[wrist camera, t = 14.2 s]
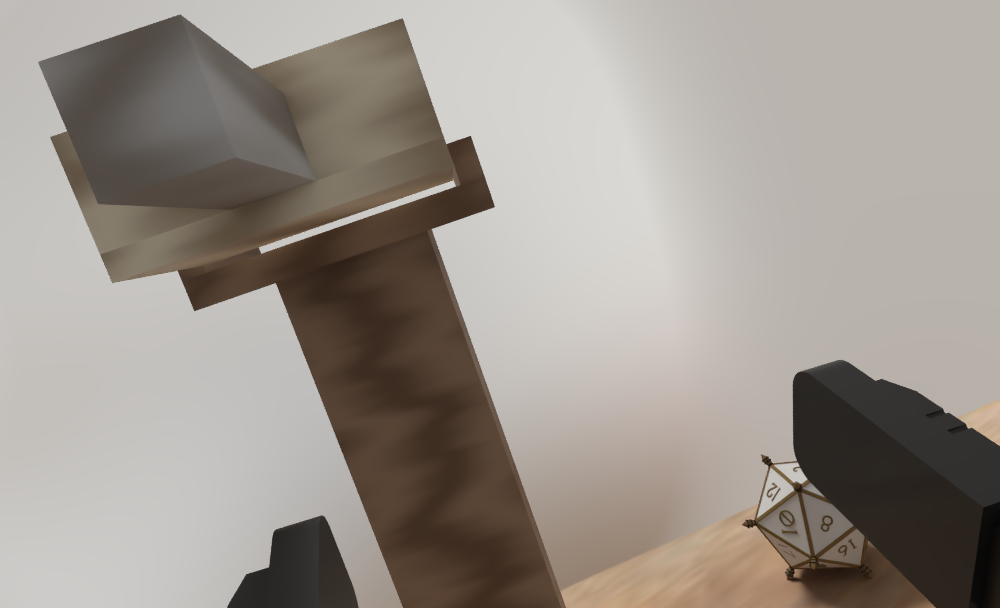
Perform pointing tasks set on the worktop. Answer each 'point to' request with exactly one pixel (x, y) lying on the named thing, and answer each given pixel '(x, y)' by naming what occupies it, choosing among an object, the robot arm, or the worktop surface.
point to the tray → (343, 143)
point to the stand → (407, 396)
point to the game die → (805, 523)
